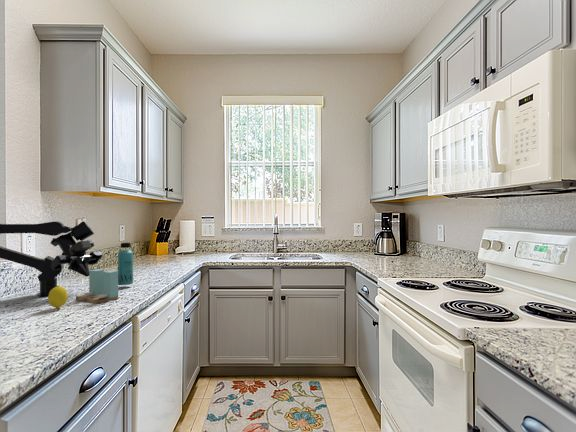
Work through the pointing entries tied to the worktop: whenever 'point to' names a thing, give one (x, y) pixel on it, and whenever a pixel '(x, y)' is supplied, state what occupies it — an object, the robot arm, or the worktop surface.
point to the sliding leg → (96, 282)
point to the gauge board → (95, 298)
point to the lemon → (57, 297)
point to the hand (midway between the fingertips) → (88, 275)
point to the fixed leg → (110, 284)
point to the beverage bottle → (125, 265)
